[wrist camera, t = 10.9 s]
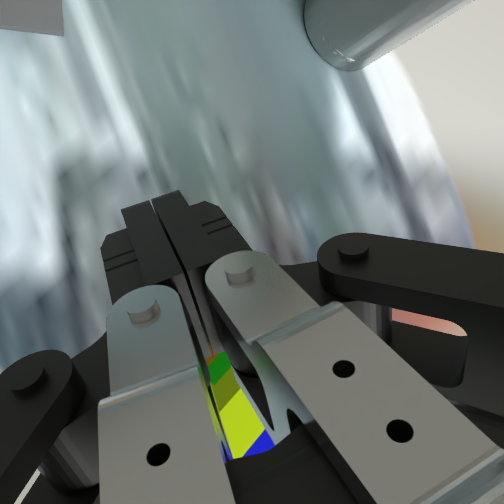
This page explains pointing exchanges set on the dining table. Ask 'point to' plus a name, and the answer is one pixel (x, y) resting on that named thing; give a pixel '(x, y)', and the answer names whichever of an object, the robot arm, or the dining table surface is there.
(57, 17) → the mat
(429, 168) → the dining table surface
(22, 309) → the dining table surface
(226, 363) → the puzzle toy
